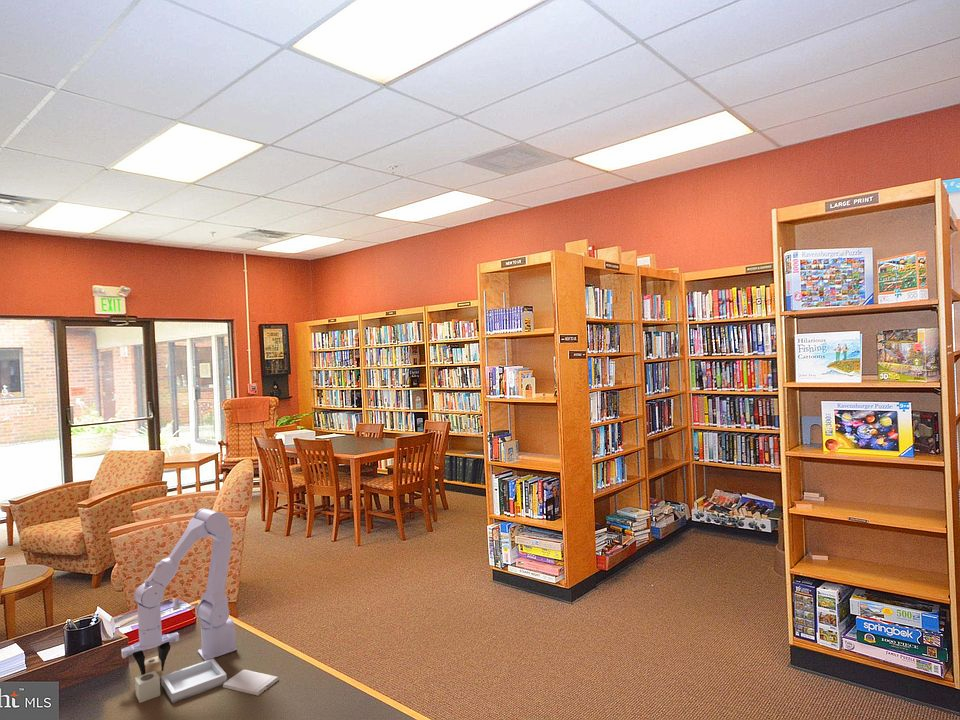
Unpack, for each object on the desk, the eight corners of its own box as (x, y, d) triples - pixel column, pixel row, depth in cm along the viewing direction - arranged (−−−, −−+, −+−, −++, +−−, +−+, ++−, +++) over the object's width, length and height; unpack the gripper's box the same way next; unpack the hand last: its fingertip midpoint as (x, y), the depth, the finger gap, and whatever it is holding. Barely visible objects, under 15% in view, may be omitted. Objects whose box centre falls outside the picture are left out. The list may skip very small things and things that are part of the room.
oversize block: (156, 688, 170) (155, 670, 170) (160, 695, 166) (159, 677, 166) (135, 695, 167) (134, 677, 167) (139, 703, 163) (138, 684, 163)
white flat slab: (222, 683, 169) (257, 691, 164) (244, 668, 177) (278, 675, 172) (222, 689, 169) (258, 697, 164) (244, 674, 177) (278, 681, 172)
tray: (213, 666, 180) (213, 658, 180) (226, 682, 171) (226, 674, 171) (161, 685, 171) (161, 676, 171) (172, 703, 162) (172, 693, 162)
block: (158, 672, 178) (157, 655, 178) (161, 678, 175) (161, 660, 175) (143, 677, 175) (142, 660, 175) (146, 683, 172) (145, 665, 172)
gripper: (173, 614, 183) (176, 658, 183) (118, 629, 173) (120, 677, 174) (180, 621, 177) (182, 667, 177) (123, 638, 168) (125, 687, 168)
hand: (152, 673), depth 175 cm, fingers closed on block, 4 cm apart
